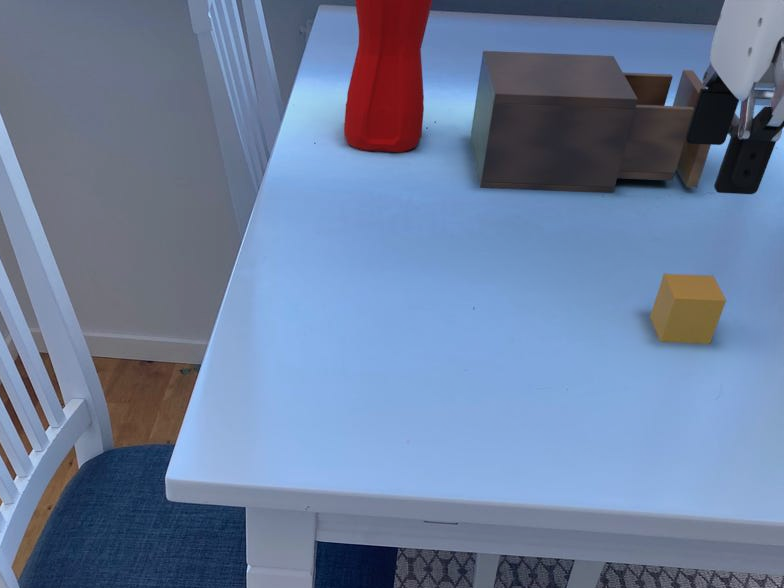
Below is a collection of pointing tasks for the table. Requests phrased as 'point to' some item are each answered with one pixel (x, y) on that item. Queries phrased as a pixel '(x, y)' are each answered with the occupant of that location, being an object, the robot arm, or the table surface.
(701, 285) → the block
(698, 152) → the drawer
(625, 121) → the cabinet
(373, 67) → the red bottle
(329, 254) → the table surface
